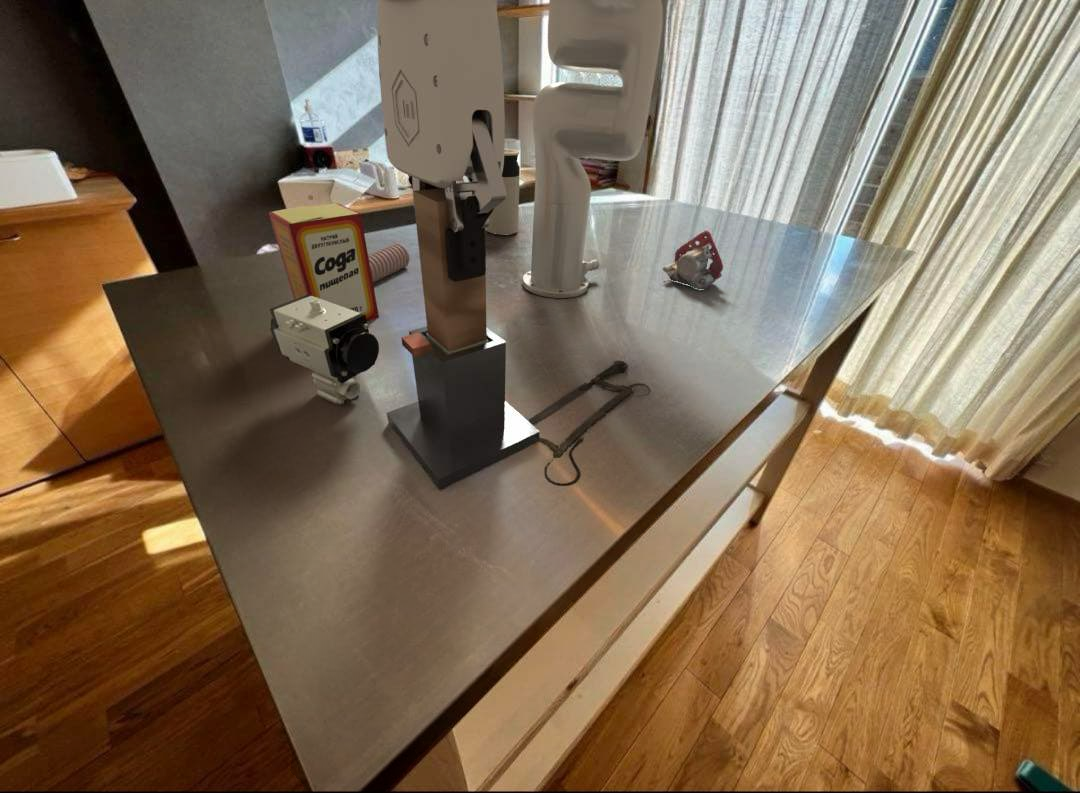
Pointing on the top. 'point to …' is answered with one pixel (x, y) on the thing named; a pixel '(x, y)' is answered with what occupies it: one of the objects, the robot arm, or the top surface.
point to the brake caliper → (696, 263)
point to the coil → (388, 261)
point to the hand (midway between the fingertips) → (452, 266)
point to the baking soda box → (326, 255)
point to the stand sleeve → (459, 410)
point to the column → (447, 280)
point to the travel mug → (507, 198)
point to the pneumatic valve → (325, 344)
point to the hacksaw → (591, 421)
